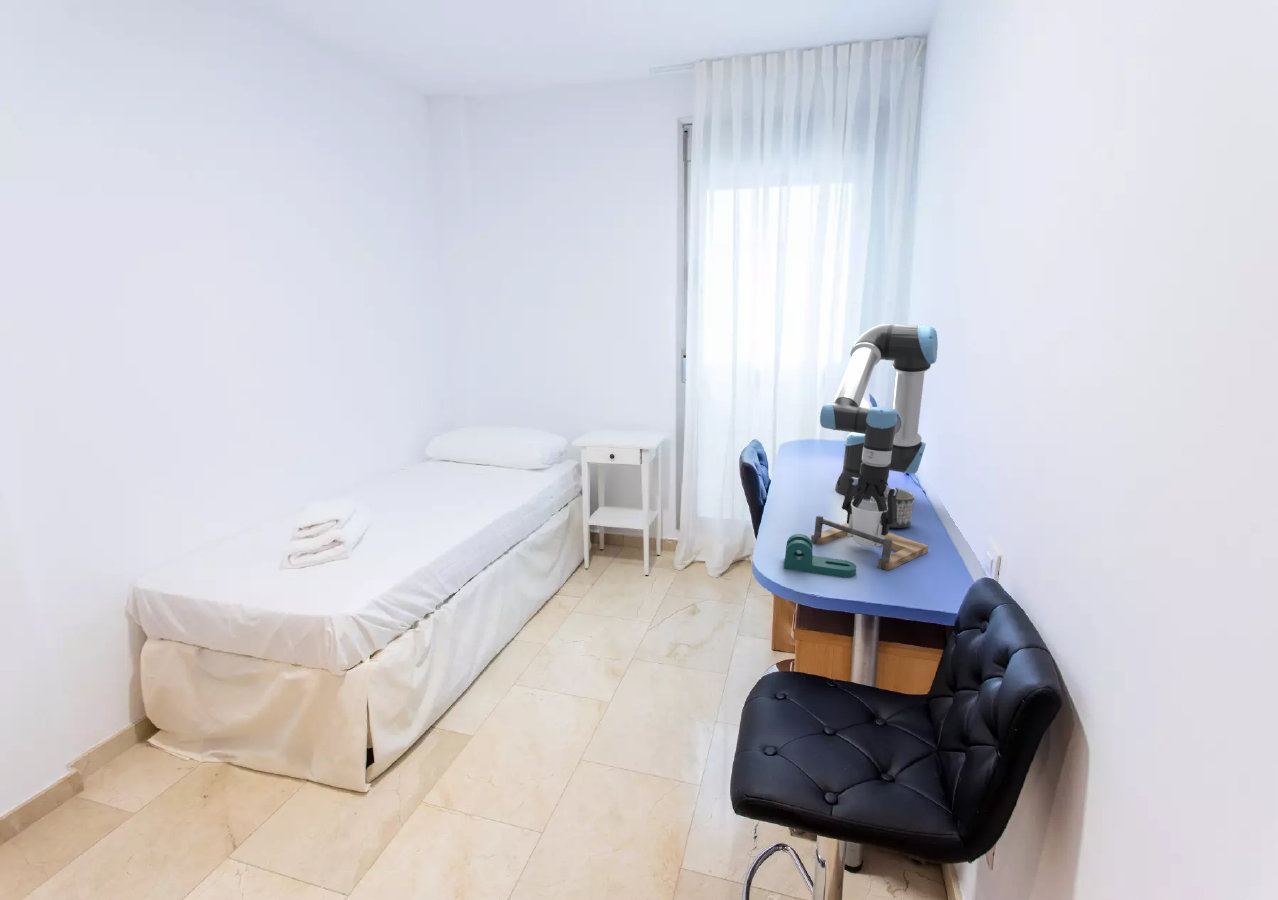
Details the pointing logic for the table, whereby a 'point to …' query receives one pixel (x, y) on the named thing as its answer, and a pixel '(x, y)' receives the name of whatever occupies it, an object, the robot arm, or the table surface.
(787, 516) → the table surface
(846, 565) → the bracket
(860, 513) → the cup
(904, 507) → the planter
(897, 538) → the wooden frame with crossbar
